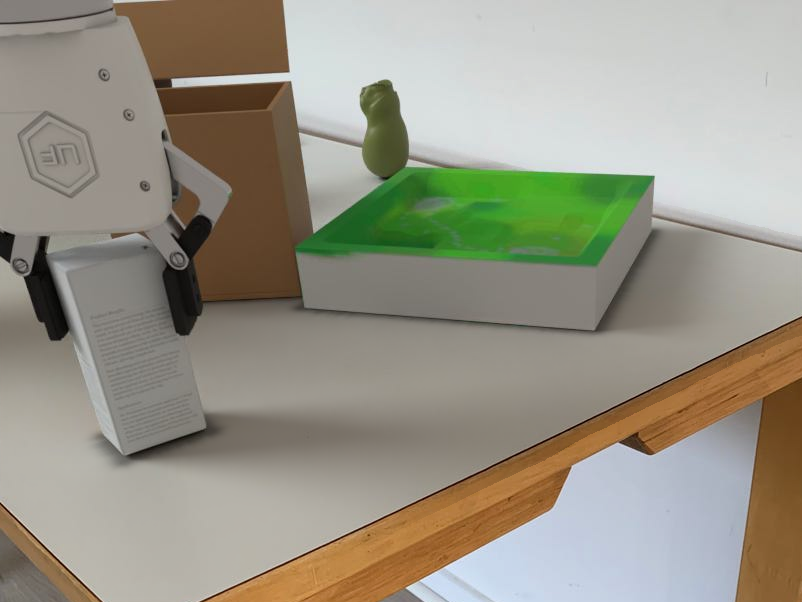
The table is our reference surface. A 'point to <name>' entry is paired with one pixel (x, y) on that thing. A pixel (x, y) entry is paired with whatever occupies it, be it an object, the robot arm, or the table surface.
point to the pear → (383, 130)
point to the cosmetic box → (127, 341)
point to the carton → (244, 185)
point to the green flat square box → (482, 246)
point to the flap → (209, 37)
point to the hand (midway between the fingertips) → (125, 327)
